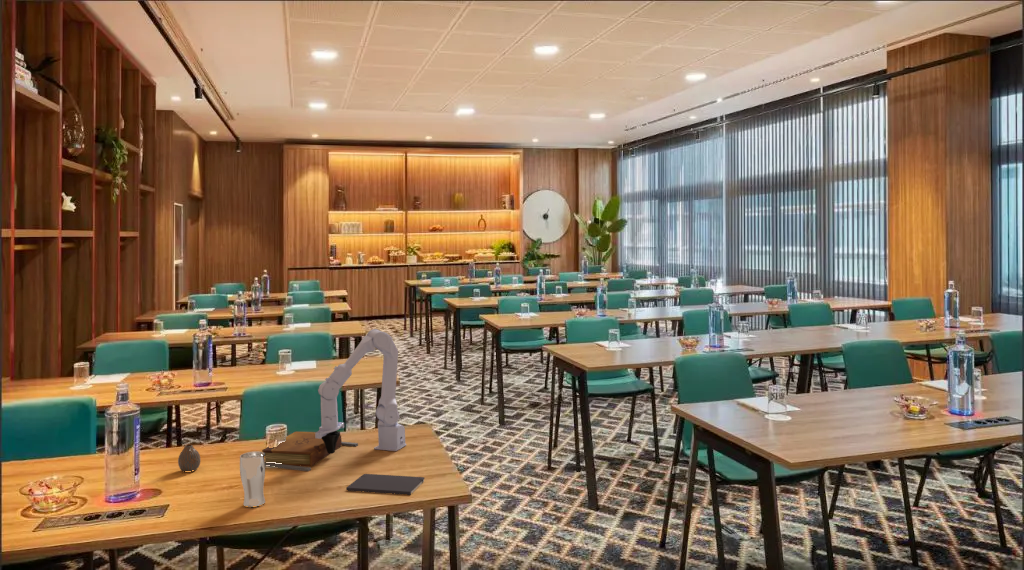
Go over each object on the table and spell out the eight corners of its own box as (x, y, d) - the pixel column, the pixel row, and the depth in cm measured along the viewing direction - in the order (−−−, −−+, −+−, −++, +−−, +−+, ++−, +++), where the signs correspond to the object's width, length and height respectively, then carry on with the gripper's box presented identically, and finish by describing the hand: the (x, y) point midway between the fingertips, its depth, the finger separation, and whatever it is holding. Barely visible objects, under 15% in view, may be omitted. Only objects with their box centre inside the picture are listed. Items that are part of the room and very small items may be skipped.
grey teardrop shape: (175, 471, 236) (173, 446, 235) (195, 465, 241) (194, 441, 241) (183, 475, 231) (182, 449, 231) (204, 470, 236) (202, 445, 236)
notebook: (346, 492, 214) (410, 496, 209) (346, 487, 213) (410, 491, 209) (364, 478, 226) (425, 481, 221) (364, 473, 226) (425, 477, 221)
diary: (312, 468, 237) (311, 452, 237) (262, 466, 241) (262, 450, 240) (341, 447, 260) (341, 432, 259) (296, 445, 263) (295, 431, 263)
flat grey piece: (357, 445, 260) (357, 443, 260) (308, 471, 232) (308, 468, 232) (297, 439, 270) (297, 437, 270) (243, 463, 242) (243, 461, 242)
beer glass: (258, 509, 200) (255, 458, 199) (237, 508, 202) (234, 458, 201) (271, 500, 207) (268, 451, 206) (250, 499, 208) (247, 450, 207)
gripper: (332, 409, 254) (333, 445, 255) (307, 419, 240) (309, 458, 241) (348, 410, 252) (349, 447, 252) (324, 421, 238) (326, 459, 239)
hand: (331, 452), depth 247 cm, fingers closed
